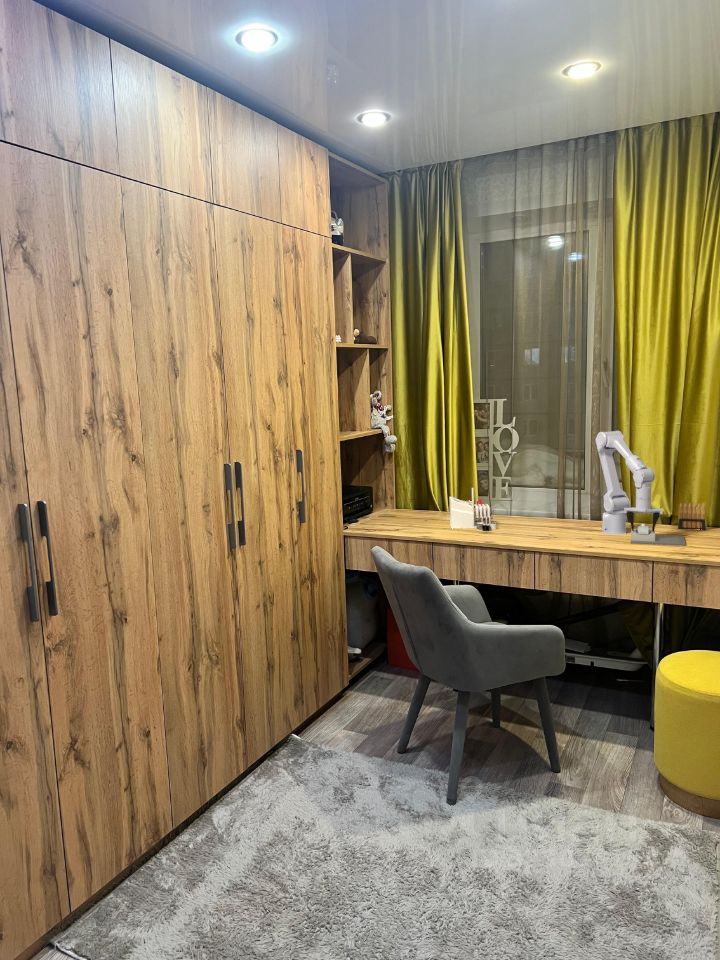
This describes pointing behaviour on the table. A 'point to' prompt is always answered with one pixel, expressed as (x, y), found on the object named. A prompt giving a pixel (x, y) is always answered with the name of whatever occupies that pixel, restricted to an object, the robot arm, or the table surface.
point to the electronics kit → (470, 514)
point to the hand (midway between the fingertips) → (642, 530)
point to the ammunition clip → (692, 517)
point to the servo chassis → (656, 538)
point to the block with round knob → (642, 529)
